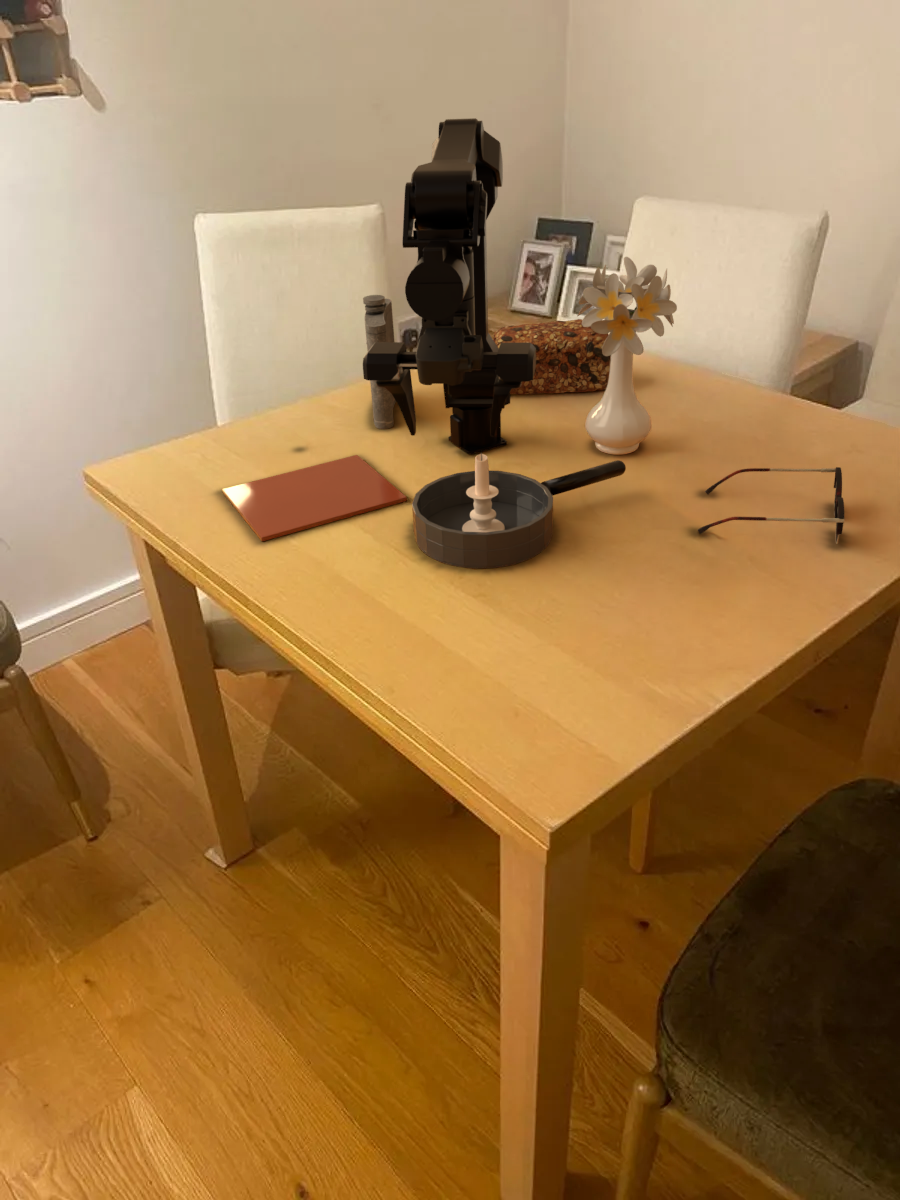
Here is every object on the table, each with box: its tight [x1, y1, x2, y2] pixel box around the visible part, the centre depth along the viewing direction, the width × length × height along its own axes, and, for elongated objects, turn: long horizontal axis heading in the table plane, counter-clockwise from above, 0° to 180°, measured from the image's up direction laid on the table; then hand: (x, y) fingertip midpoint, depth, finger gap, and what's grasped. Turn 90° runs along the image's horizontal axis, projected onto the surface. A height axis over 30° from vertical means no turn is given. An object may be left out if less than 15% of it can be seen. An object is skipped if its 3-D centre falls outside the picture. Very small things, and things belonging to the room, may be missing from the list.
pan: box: [411, 470, 554, 569], centre depth 118 cm, size 17×17×4 cm
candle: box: [462, 452, 505, 532], centre depth 116 cm, size 5×5×10 cm
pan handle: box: [540, 459, 627, 497], centre depth 123 cm, size 13×2×2 cm, turn 119°
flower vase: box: [576, 256, 678, 455], centre depth 131 cm, size 13×18×25 cm
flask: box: [362, 294, 397, 430], centre depth 149 cm, size 4×14×18 cm, turn 179°
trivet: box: [221, 454, 408, 542], centre depth 129 cm, size 20×16×1 cm
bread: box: [492, 318, 611, 396], centre depth 158 cm, size 19×11×10 cm, turn 89°
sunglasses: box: [697, 466, 845, 544], centre depth 118 cm, size 14×16×5 cm
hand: (452, 434), depth 112 cm, fingers open, 9 cm apart
